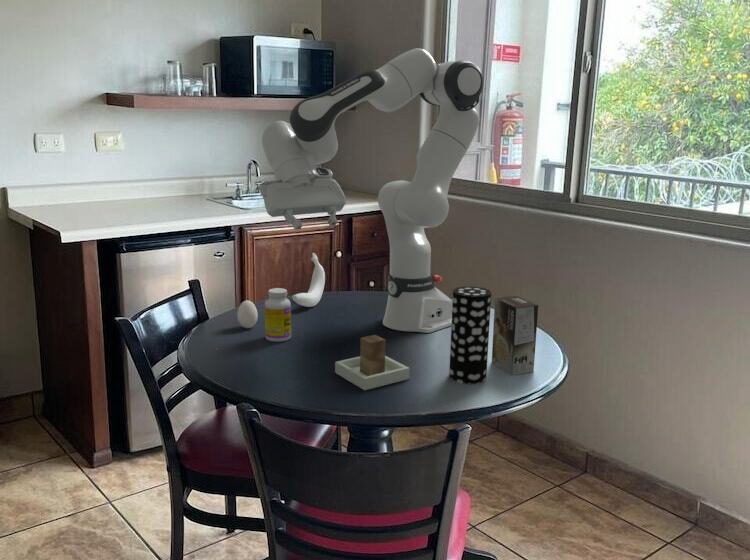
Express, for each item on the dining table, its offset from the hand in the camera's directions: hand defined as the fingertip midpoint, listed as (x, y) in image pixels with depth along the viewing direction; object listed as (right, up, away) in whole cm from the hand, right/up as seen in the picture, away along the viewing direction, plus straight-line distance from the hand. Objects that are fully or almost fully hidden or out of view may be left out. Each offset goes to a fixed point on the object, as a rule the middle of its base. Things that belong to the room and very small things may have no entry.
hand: (316, 226), depth 168 cm
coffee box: (+46, -33, +1) cm, 57 cm away
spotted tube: (+35, -35, -5) cm, 49 cm away
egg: (-21, -26, +26) cm, 42 cm away
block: (+13, -33, -6) cm, 36 cm away
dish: (+13, -34, -6) cm, 37 cm away
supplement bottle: (-11, -28, +18) cm, 35 cm away
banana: (-6, -20, +48) cm, 52 cm away
